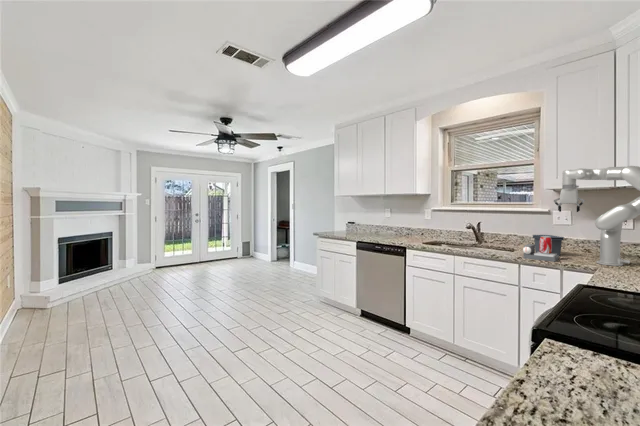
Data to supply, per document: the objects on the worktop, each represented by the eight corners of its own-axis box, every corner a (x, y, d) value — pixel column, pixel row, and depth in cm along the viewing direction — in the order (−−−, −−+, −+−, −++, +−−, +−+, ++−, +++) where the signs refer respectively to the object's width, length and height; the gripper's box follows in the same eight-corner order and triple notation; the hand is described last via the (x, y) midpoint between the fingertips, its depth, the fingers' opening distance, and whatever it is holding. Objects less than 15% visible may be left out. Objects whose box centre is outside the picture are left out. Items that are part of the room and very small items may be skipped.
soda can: (551, 254, 212) (551, 237, 211) (538, 253, 216) (539, 236, 216) (552, 253, 217) (552, 236, 216) (540, 252, 222) (540, 235, 221)
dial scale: (558, 259, 216) (558, 246, 216) (554, 261, 207) (554, 248, 207) (527, 255, 230) (527, 243, 230) (522, 258, 221) (522, 245, 220)
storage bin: (529, 252, 247) (530, 234, 246) (550, 252, 245) (550, 234, 245) (546, 256, 225) (547, 237, 225) (569, 257, 224) (569, 237, 223)
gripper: (585, 187, 213) (585, 211, 214) (554, 188, 226) (554, 211, 226) (584, 186, 208) (584, 212, 209) (552, 188, 220) (552, 211, 221)
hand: (568, 211), depth 217 cm, fingers open, 9 cm apart
